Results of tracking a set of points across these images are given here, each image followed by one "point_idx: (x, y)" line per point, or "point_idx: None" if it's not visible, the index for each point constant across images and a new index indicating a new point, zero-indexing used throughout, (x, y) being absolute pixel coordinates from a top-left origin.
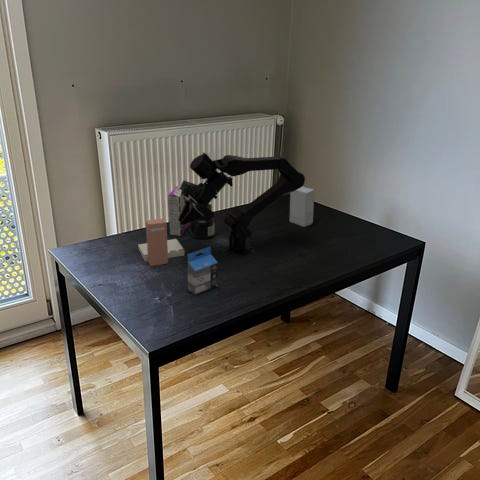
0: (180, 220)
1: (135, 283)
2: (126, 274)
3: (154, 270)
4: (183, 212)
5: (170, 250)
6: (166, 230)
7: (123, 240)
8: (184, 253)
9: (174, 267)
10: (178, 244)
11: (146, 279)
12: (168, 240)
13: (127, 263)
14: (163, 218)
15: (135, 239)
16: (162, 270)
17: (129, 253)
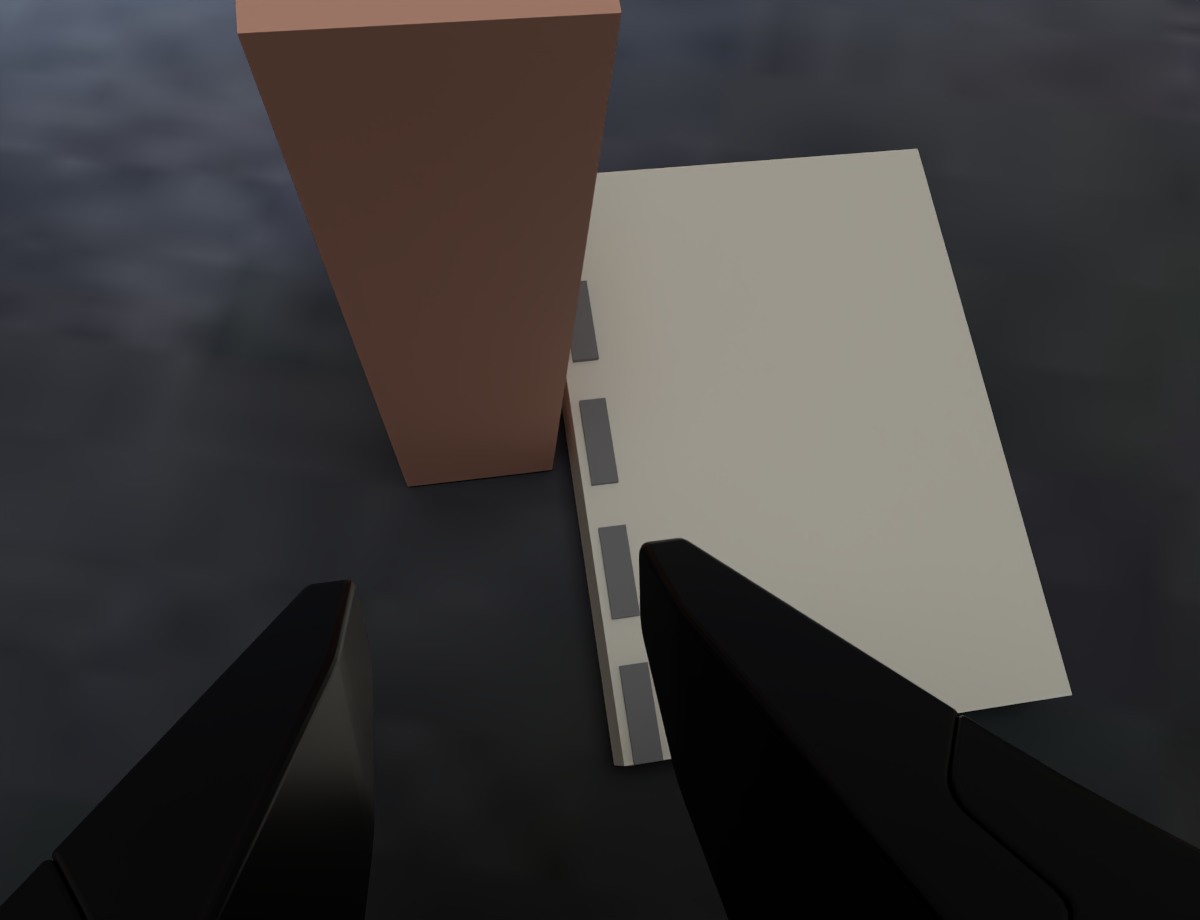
0: (650, 631)
1: (12, 62)
2: None
3: (264, 296)
4: (776, 763)
5: (655, 539)
6: (303, 202)
7: (1156, 70)
8: (618, 764)
9: (265, 555)
10: None
11: (60, 180)
12: (1016, 561)
13: None
14: (609, 6)
15: (1183, 195)
16: (230, 388)
17: (796, 90)
